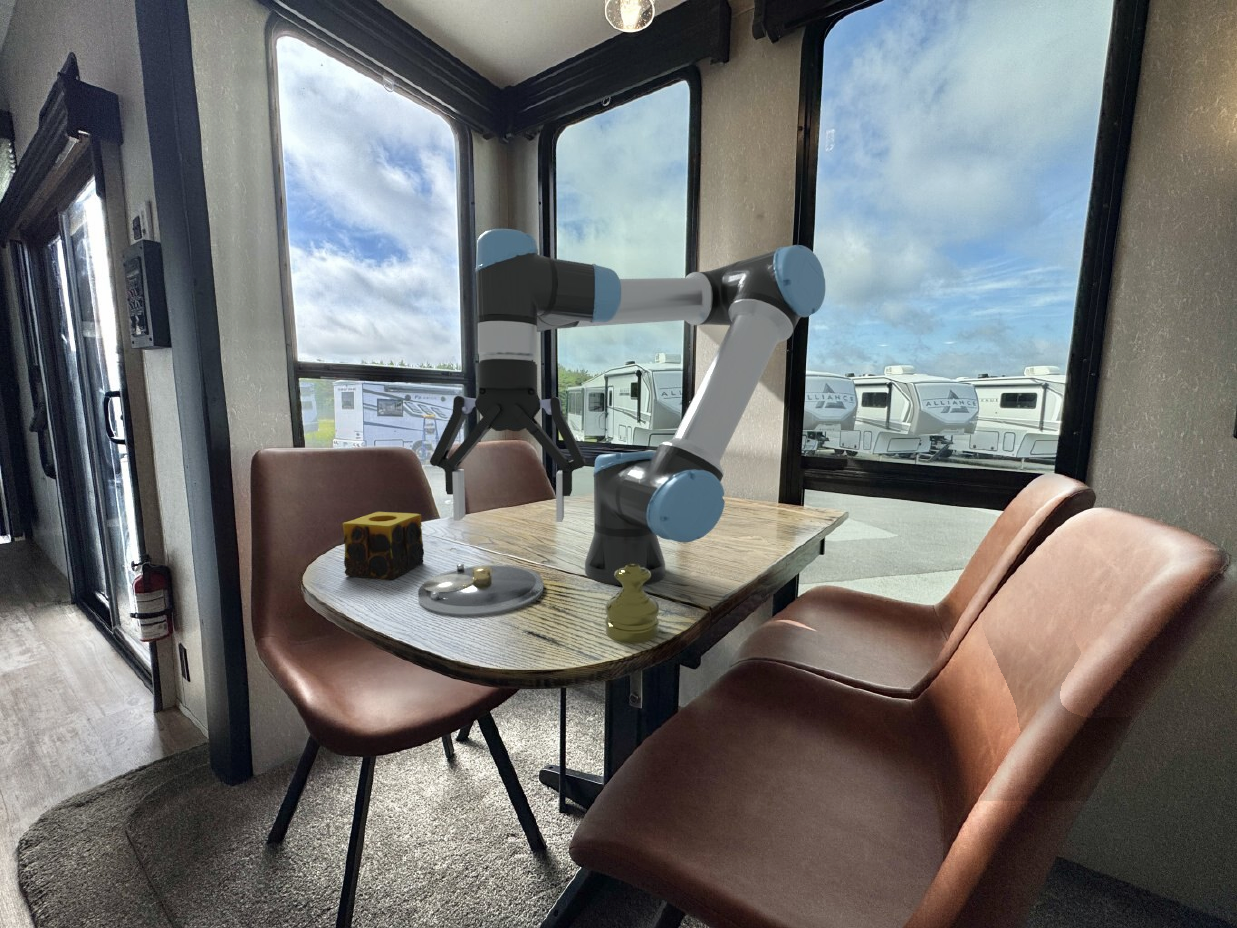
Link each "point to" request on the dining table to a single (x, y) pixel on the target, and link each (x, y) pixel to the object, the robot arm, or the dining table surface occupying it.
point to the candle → (383, 545)
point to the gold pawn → (632, 608)
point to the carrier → (480, 590)
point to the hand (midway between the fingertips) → (509, 519)
